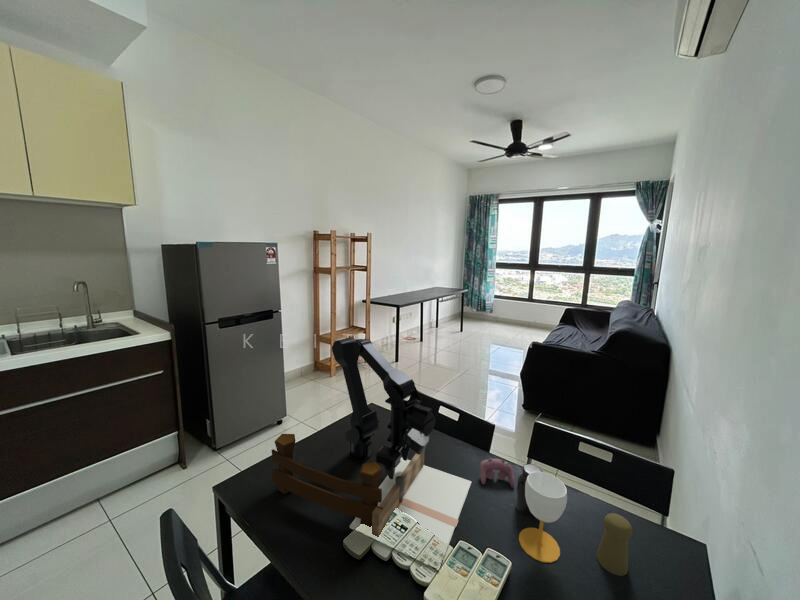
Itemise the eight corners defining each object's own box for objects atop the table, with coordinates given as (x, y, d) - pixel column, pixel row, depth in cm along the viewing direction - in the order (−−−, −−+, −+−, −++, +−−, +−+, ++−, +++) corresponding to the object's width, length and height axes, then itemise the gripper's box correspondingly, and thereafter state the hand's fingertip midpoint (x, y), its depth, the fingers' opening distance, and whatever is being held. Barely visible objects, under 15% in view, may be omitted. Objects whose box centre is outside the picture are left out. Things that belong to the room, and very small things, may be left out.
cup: (555, 532, 79) (562, 474, 77) (564, 567, 71) (574, 503, 68) (516, 524, 81) (522, 467, 79) (521, 557, 73) (528, 494, 70)
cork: (590, 550, 75) (596, 508, 73) (614, 549, 76) (621, 507, 74) (608, 576, 69) (616, 532, 67) (635, 575, 70) (643, 530, 68)
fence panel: (404, 496, 88) (404, 476, 87) (398, 493, 89) (399, 474, 88) (423, 464, 101) (424, 447, 100) (418, 462, 102) (419, 445, 101)
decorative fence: (269, 490, 89) (268, 440, 86) (284, 476, 94) (283, 429, 92) (378, 537, 76) (380, 480, 73) (389, 518, 81) (391, 465, 79)
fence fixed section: (371, 535, 76) (371, 511, 75) (396, 495, 88) (397, 474, 87) (379, 538, 75) (379, 514, 74) (404, 498, 88) (405, 477, 87)
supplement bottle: (541, 504, 88) (546, 464, 86) (543, 523, 82) (549, 481, 80) (514, 497, 90) (519, 458, 88) (515, 515, 84) (519, 474, 82)
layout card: (349, 527, 78) (349, 525, 78) (401, 458, 105) (401, 457, 105) (440, 571, 69) (440, 569, 69) (472, 483, 95) (472, 481, 95)
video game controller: (511, 484, 97) (511, 459, 99) (515, 488, 93) (515, 462, 95) (478, 481, 98) (478, 456, 100) (481, 485, 94) (481, 458, 96)
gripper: (413, 445, 81) (410, 500, 84) (437, 413, 98) (434, 459, 100) (374, 433, 86) (373, 485, 88) (404, 404, 103) (402, 448, 105)
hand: (398, 469), depth 95 cm, fingers open, 9 cm apart
